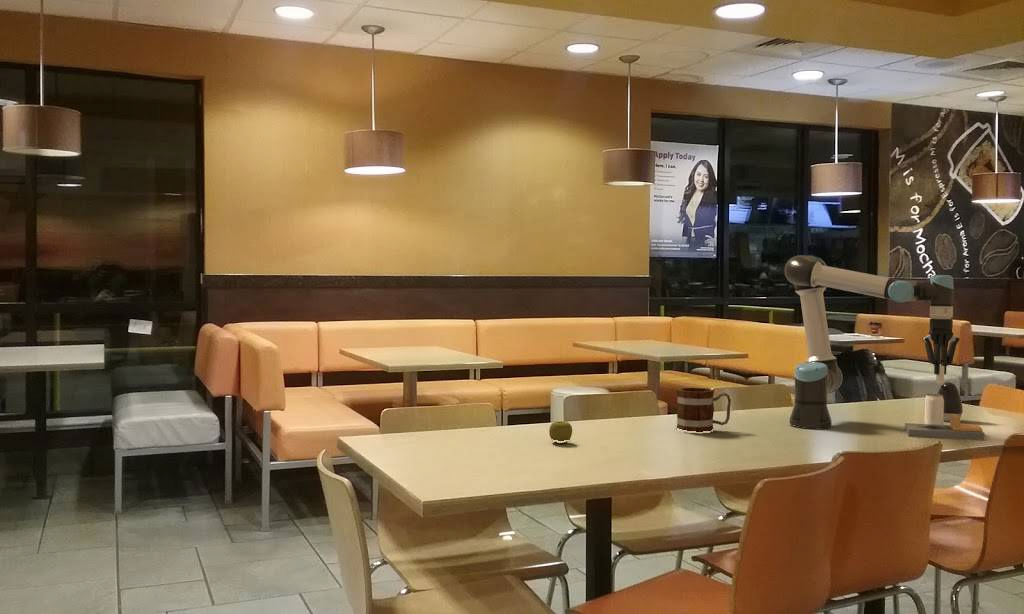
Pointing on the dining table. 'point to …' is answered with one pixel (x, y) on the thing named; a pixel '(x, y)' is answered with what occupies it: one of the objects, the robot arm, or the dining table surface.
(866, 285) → the robot arm
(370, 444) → the dining table surface
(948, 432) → the socket plate
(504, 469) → the dining table surface
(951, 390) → the black rounded upright piece
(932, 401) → the can
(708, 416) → the mug
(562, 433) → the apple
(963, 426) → the orange l-shaped block
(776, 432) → the dining table surface
